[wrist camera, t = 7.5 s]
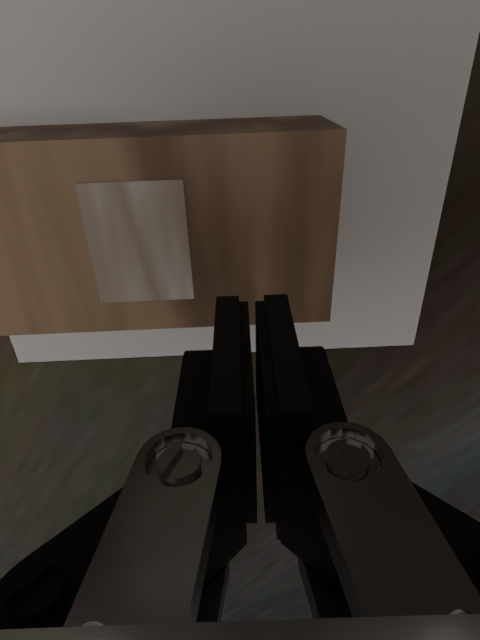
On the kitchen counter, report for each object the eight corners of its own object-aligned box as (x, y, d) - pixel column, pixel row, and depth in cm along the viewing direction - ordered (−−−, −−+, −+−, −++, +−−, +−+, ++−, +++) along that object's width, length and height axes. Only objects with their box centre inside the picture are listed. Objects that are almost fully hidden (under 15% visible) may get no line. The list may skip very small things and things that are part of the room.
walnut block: (347, 129, 15) (-79, 145, 15) (330, 322, 19) (-6, 337, 19) (319, 114, 20) (-12, 127, 20) (310, 274, 24) (36, 286, 24)
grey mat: (487, -28, 18) (492, -30, 17) (411, 341, 27) (413, 344, 26) (-109, -8, 17) (-115, -10, 17) (21, 358, 26) (18, 362, 26)
